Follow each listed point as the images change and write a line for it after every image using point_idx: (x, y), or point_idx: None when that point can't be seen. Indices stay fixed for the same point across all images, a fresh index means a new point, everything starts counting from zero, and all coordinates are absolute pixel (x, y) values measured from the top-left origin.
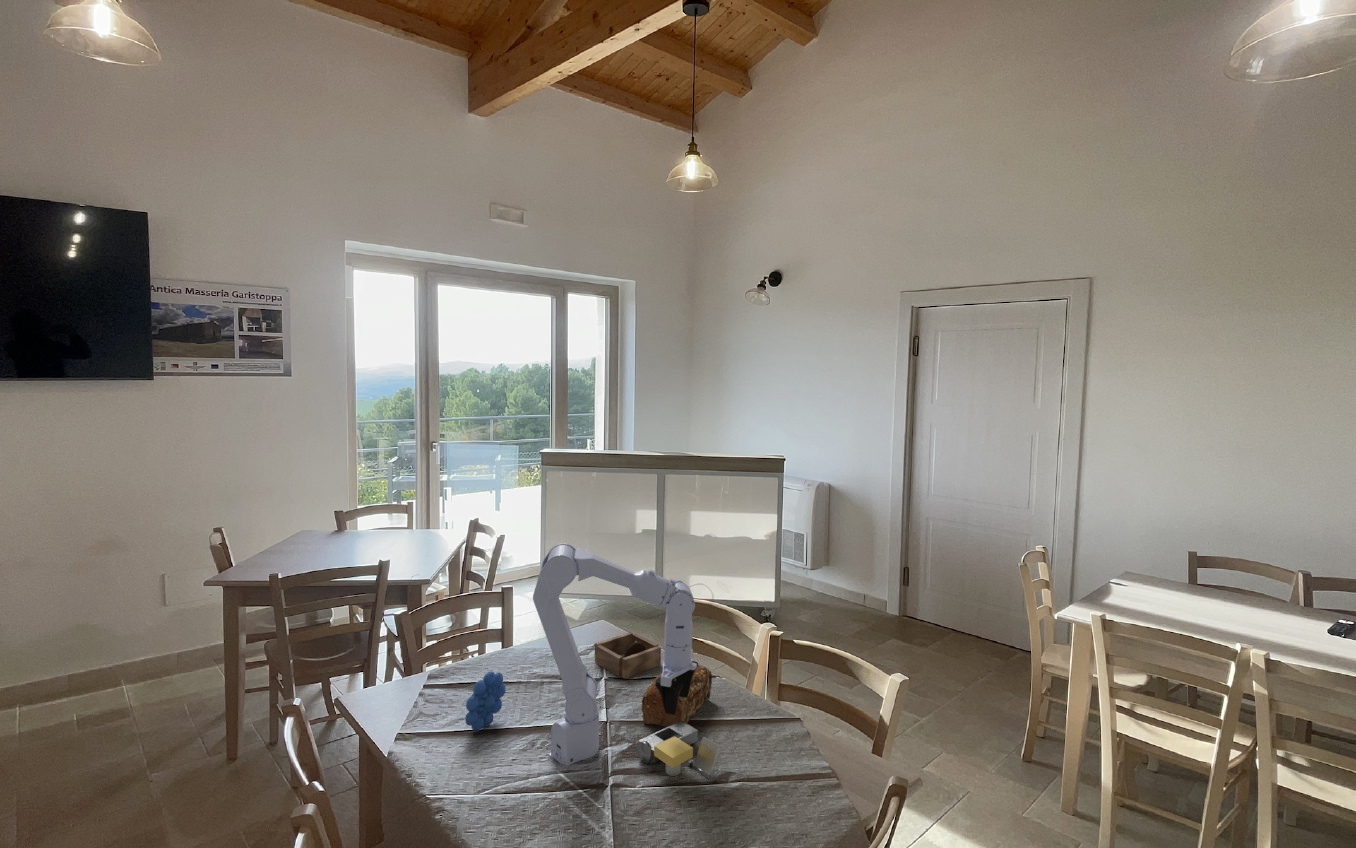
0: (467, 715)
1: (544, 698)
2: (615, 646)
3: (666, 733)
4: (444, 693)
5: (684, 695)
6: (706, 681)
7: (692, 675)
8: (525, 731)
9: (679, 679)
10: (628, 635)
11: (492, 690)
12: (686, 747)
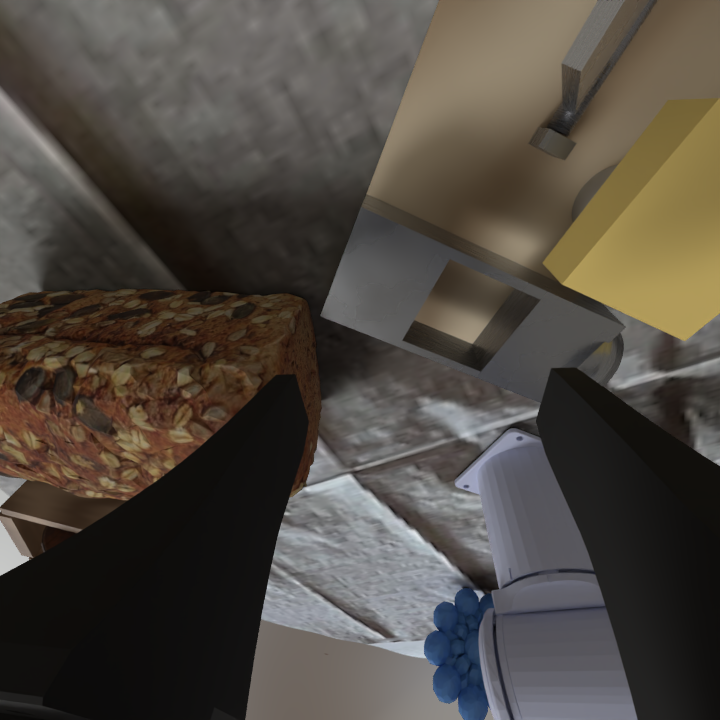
0: None
1: (339, 561)
2: None
3: (417, 335)
4: (402, 629)
5: (295, 396)
6: None
7: (170, 519)
8: (461, 554)
9: (265, 530)
10: None
11: (468, 668)
12: (714, 153)
